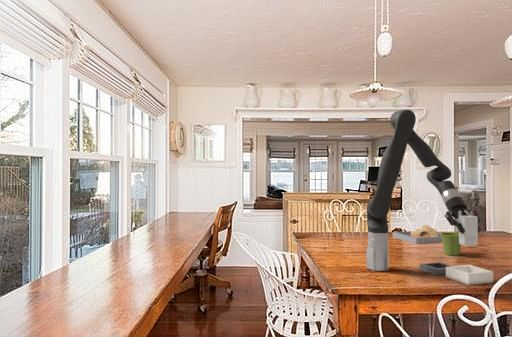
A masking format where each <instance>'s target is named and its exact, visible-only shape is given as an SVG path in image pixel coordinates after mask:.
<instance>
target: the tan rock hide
mask: <svg viewBox="0 0 512 337" xmlns="http://www.w3.org/2000/svg"><path fill="white" fill-rule="evenodd" d="M438 234H439V233H438V231H437V230H436V229H434V228H433V227H430V226H429V225H428V224H424V225H422V226H421V228H415V229H414V230H412V232H411V233H410V235H411V236H412V237H416V238H420V237H435V236H439V235H438Z"/></svg>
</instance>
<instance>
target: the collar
mask: <svg viewBox="0 0 512 337" xmlns="http://www.w3.org/2000/svg"><path fill="white" fill-rule="evenodd" d="M449 266H451V265H450V264H446V263H443V262H440V261H437V262H436V261H435V262H425V263H424V262H423V263H419V270H421V271H424V272H426V273H430V274H432V275H434V276H435V275H436V276H440V275H441V276H442V275H446V267H449Z"/></svg>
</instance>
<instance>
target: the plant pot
mask: <svg viewBox="0 0 512 337" xmlns="http://www.w3.org/2000/svg"><path fill="white" fill-rule="evenodd" d="M439 234H440V235H441V238H442V241H443V242H442V246H443V252H444V255H446V256H454V257H457V256H460V254H461V248H462V245H461V244H459V232H454V231H452V232H451V231H447V232H446V231H445V232H439Z"/></svg>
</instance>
